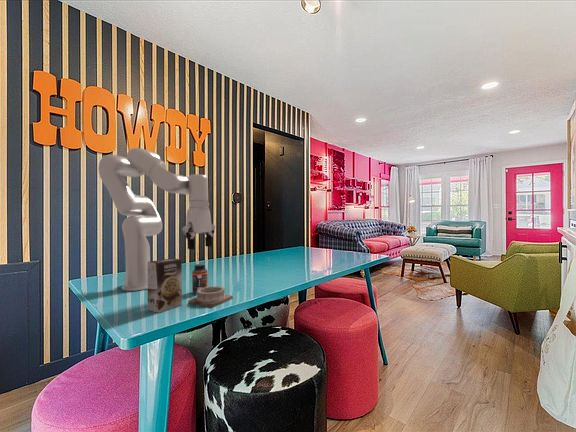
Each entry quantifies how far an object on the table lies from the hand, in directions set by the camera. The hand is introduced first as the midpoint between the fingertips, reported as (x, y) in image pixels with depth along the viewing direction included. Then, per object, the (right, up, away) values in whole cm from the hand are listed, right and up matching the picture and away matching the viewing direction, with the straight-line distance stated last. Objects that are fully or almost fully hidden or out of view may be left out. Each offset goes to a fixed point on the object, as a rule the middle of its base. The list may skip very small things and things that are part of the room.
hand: (200, 247), depth 113 cm
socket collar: (+7, -18, -11) cm, 23 cm away
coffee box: (-6, -19, -18) cm, 27 cm away
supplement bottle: (0, -18, 0) cm, 18 cm away
